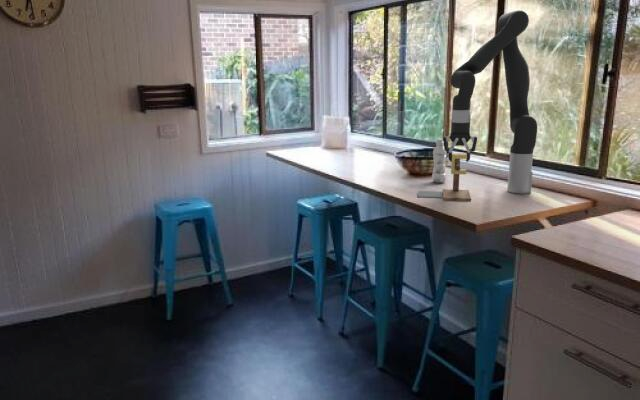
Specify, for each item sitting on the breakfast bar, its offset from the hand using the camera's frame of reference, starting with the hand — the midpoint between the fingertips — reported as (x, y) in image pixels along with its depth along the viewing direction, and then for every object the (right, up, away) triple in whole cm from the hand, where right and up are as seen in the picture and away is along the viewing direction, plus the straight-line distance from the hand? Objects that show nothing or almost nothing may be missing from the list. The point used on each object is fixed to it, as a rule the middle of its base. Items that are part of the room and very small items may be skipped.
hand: (458, 161), depth 212 cm
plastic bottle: (-1, -8, +31) cm, 32 cm away
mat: (-10, -14, +8) cm, 19 cm away
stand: (0, -15, +5) cm, 15 cm away
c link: (0, -5, +1) cm, 5 cm away
